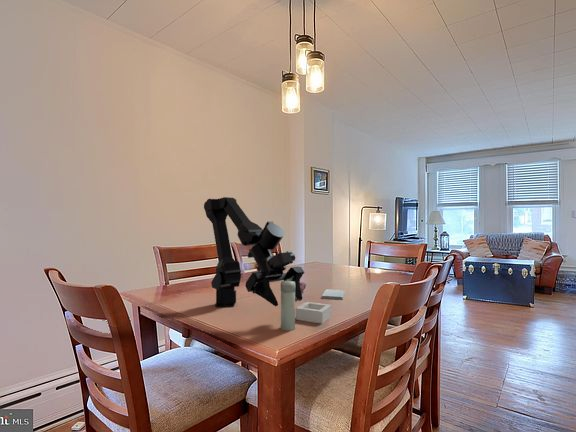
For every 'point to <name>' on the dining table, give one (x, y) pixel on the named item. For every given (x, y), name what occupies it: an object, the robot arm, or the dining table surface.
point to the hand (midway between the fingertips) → (289, 302)
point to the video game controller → (302, 287)
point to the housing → (314, 312)
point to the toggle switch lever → (288, 305)
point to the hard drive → (333, 294)
